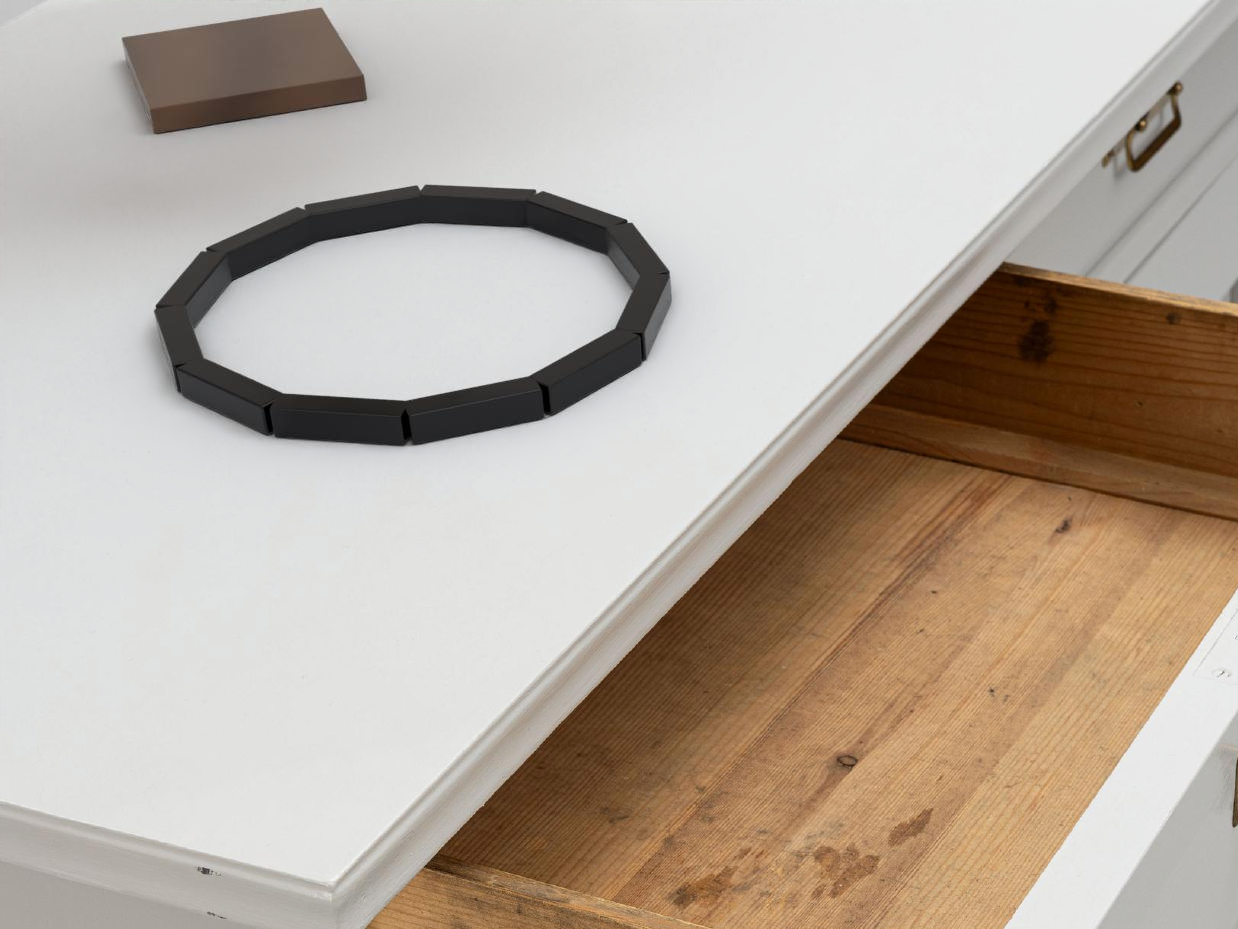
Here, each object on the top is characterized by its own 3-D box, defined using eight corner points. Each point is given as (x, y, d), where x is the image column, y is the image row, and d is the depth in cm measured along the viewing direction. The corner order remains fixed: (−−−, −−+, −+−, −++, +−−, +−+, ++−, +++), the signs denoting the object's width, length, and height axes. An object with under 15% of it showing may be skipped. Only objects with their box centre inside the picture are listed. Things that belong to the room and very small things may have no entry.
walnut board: (154, 134, 101) (149, 108, 101) (126, 61, 109) (121, 37, 108) (367, 99, 104) (364, 74, 103) (325, 30, 111) (322, 6, 111)
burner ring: (209, 487, 76) (202, 457, 76) (134, 261, 91) (128, 234, 90) (733, 380, 81) (732, 351, 81) (583, 181, 96) (581, 155, 95)
